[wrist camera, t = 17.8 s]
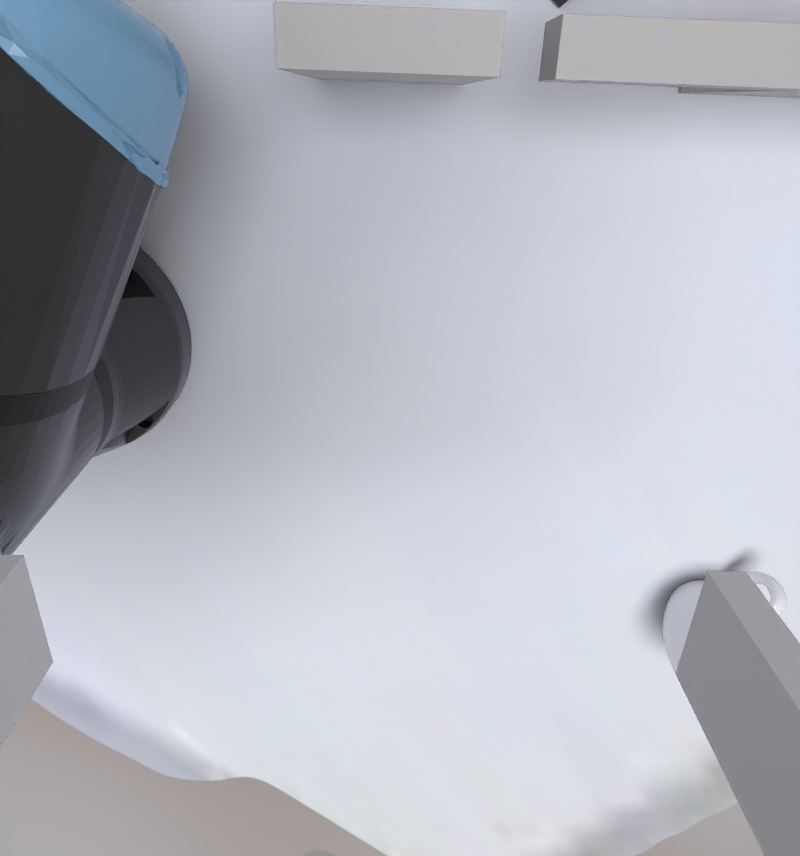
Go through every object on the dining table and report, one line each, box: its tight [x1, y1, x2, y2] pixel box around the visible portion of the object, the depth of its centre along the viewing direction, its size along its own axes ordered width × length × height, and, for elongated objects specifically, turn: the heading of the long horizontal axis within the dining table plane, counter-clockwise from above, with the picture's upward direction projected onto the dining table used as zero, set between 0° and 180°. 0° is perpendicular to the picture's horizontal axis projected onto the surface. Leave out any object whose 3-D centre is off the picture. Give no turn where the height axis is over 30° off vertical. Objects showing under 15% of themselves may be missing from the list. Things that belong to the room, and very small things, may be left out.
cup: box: [663, 571, 787, 674], centre depth 49 cm, size 8×10×7 cm
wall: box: [273, 2, 800, 98], centre depth 30 cm, size 32×2×14 cm, turn 88°
